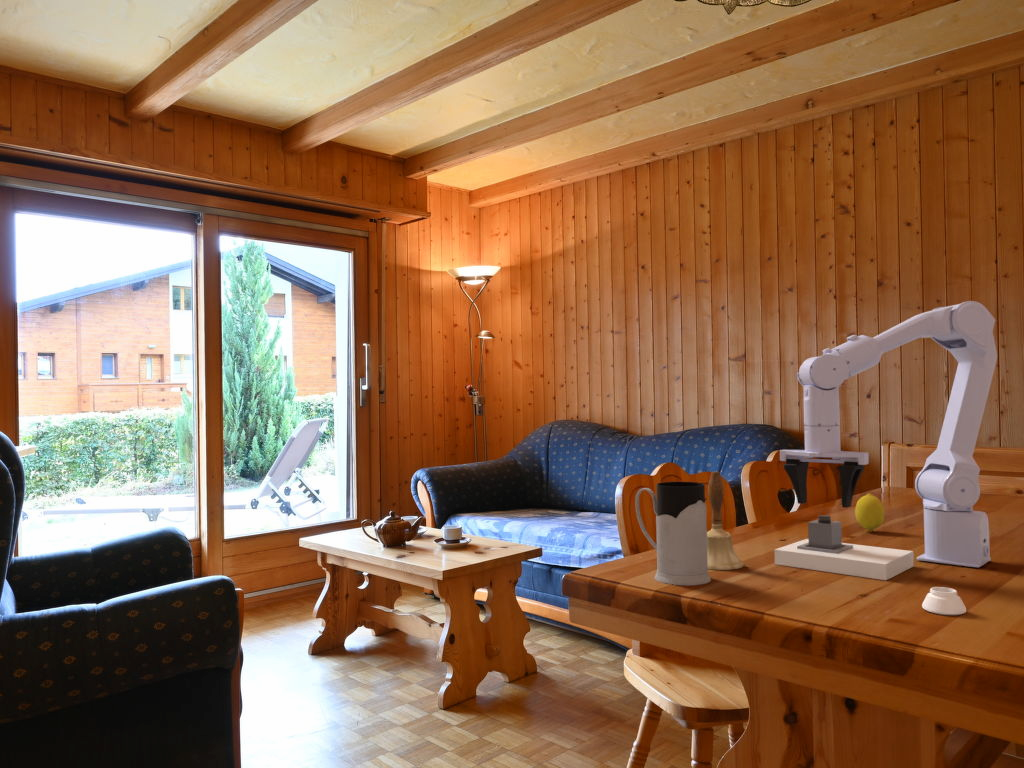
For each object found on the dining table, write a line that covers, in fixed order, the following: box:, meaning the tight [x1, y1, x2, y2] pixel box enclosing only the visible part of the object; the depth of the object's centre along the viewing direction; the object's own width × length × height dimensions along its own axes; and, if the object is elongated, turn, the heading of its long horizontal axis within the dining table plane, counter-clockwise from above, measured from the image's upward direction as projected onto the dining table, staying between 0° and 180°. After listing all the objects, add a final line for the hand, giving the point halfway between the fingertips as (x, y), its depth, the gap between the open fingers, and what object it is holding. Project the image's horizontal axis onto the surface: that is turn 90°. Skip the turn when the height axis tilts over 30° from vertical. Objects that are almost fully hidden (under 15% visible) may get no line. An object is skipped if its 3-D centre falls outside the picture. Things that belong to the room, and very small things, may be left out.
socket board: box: [774, 538, 915, 581], centre depth 129 cm, size 18×13×3 cm
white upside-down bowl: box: [921, 586, 967, 616], centre depth 101 cm, size 5×3×5 cm
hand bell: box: [707, 471, 745, 571], centre depth 131 cm, size 8×8×16 cm
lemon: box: [854, 493, 885, 533], centre depth 160 cm, size 6×6×8 cm
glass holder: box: [634, 481, 712, 586], centre depth 124 cm, size 9×14×15 cm, turn 36°
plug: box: [807, 514, 843, 550], centre depth 131 cm, size 4×4×8 cm
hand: (824, 505), depth 131 cm, fingers open, 7 cm apart
